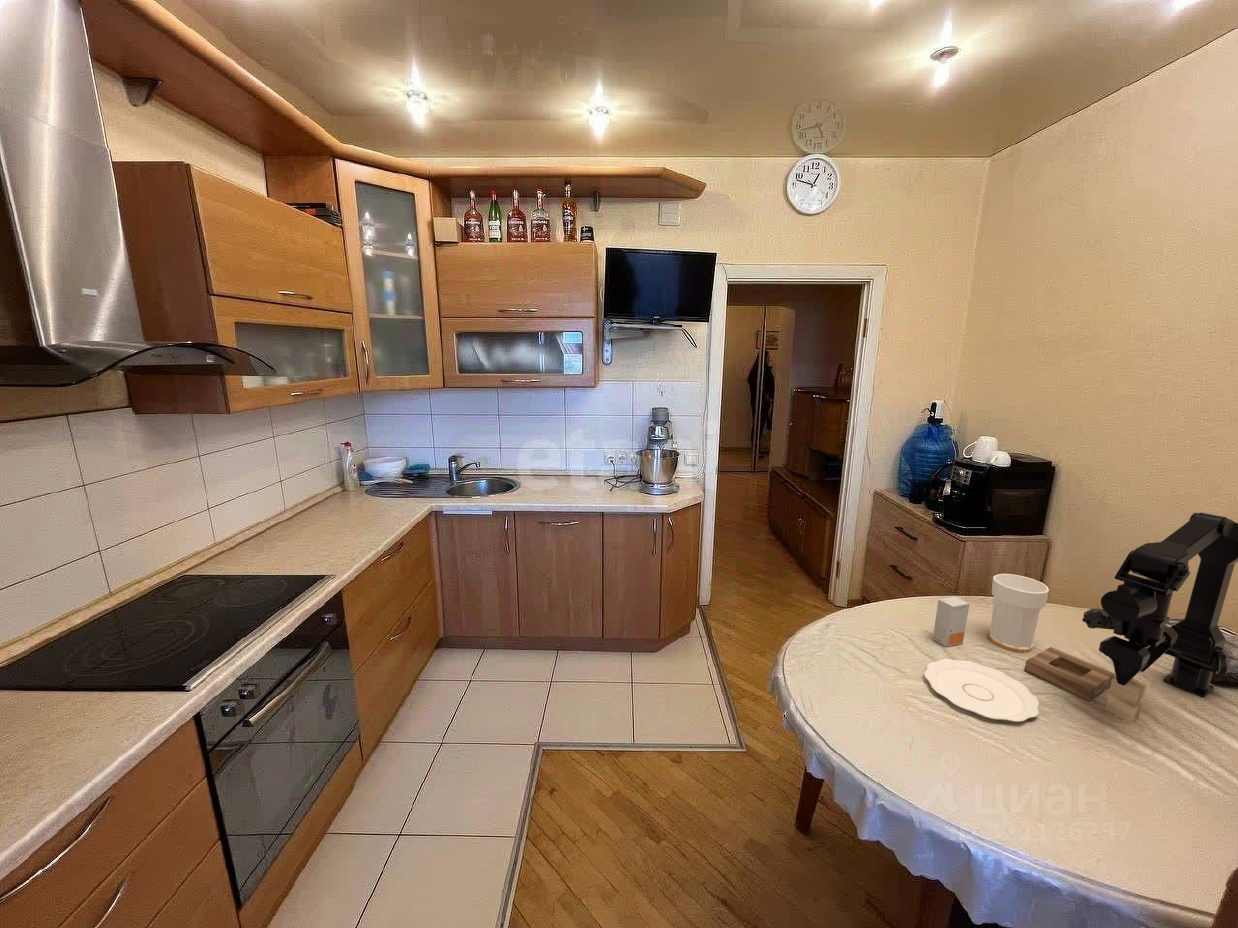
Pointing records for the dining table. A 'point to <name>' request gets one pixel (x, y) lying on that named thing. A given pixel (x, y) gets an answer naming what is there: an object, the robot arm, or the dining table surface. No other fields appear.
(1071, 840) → the dining table surface
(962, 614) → the skincare box
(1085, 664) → the socket block
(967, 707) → the plate
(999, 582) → the cup
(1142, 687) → the maple peg
